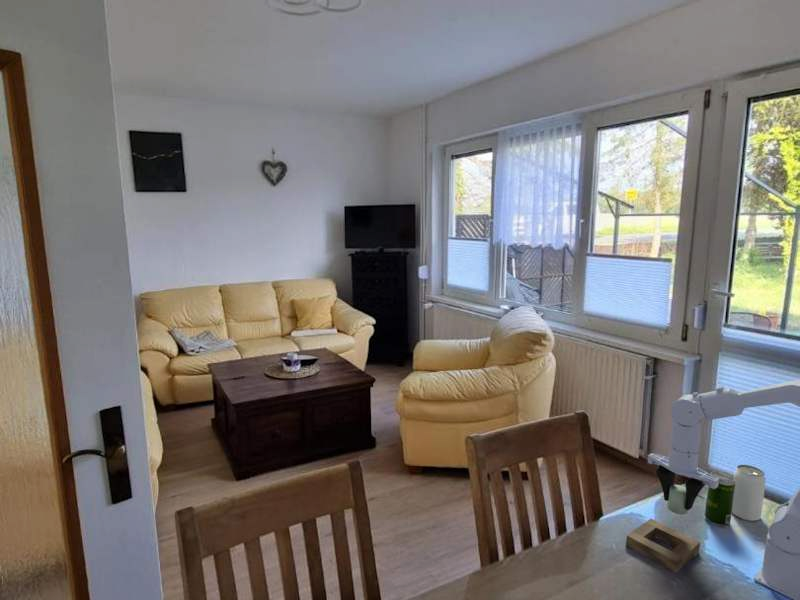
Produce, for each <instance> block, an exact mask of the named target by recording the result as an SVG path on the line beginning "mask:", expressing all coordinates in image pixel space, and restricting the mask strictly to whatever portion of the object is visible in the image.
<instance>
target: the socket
mask: <svg viewBox="0 0 800 600" xmlns="http://www.w3.org/2000/svg"><path fill="white" fill-rule="evenodd" d="M654 537H655V538H656V537H657V538H656V539H658V538H659V539H658V540H660V539H661V540H660V541H662V542H664V541H665V542H664V543H666V542H667V543H666V544H668V543H669V544H668V545H670V544H671V545H670V546H672V545H673V546H672V547H674V546H675V547H674V548H673V549H671V550H670V549H668V548H666V547H664V546H662V545H660V544H658V543H656V542H654V541H652V540H653V539H655V538H654ZM650 540H651V541H650ZM625 546H627V547H628V548H629V549H632V550H634V551H635V552H638V553H639V554H641V555H643V556H645V557H646V558H648V559H650V560H652V561H654V562H656V563H657V562H658V563H657V564H659V563H660V564H659V565H661V564H662V565H661V566H663V565H664V566H663V567H665V566H666V567H665V568H667V567H668V568H670V569H672V570H673V571H672V570H671V571H672V572H674V571H675V573H676V572H677V571H678V570H679V571H680V570H681V569H682V568H683V567H685V566H686V565H687V564H688V563H689V562H690V561H691V560H692V559H693V558H695V557H696V556H697V555H698V554H699V553H700V547H701V541H699V540H697V539H695V538H692V537H690V536H689V535H686V534H684V533H682V532H680V531H678V530H676V529H673V528H671V527H670V526H667V525H665V524H663V523H662V522H659V521H657V520H655V519H652V518H649V519H647V520H646V521H645V522H643V523H642V524H641V525H640V526H638V527H636V528H635V529H634V530H632V531H631V532H629V533H628V534H627V535H626V542H625ZM668 568H667V569H668ZM670 569H669V570H670ZM679 571H678V572H679ZM678 572H677V573H678Z"/></svg>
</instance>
